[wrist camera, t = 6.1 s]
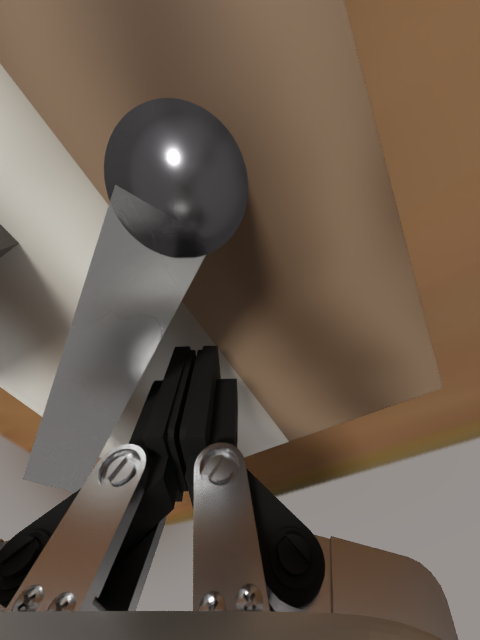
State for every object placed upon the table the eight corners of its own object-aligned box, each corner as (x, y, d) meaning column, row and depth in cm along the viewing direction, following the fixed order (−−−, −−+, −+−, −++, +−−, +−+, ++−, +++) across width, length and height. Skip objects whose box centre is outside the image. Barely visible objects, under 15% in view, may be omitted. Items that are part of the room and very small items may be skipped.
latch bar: (177, 102, 7) (131, 56, 4) (261, 161, 8) (276, 159, 5) (67, 401, 13) (13, 476, 10) (121, 420, 13) (87, 495, 10)
